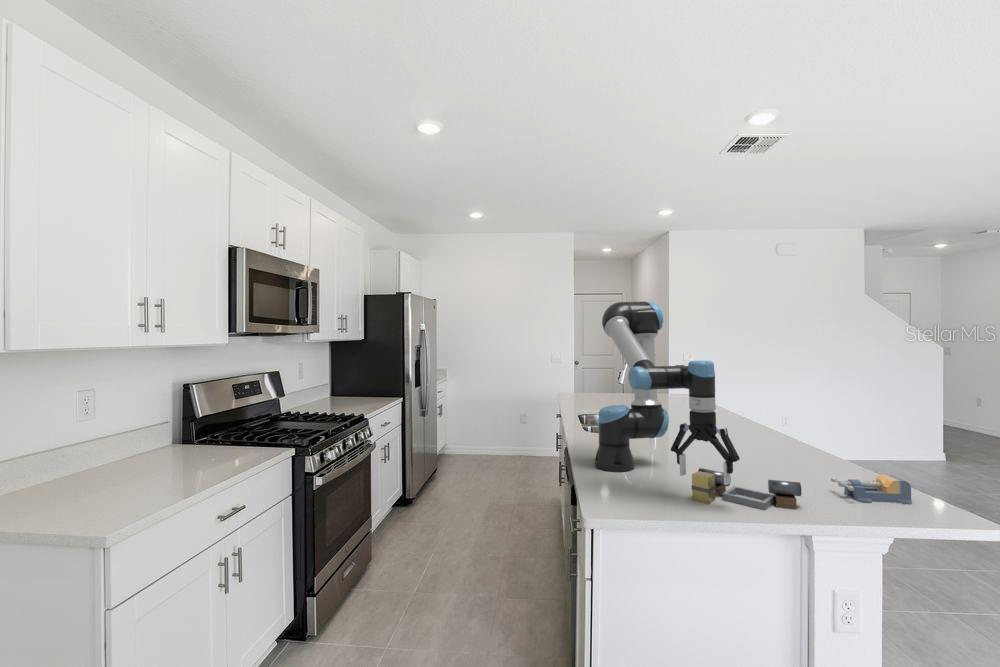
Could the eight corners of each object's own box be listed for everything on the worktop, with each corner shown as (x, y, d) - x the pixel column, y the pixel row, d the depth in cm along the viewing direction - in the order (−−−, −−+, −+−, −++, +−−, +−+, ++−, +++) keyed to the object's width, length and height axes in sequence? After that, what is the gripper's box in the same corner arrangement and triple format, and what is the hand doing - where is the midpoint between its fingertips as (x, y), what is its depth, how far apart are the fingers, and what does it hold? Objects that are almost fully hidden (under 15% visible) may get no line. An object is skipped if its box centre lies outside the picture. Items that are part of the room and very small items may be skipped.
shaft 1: (696, 491, 151) (696, 470, 151) (704, 487, 155) (703, 466, 155) (724, 498, 145) (724, 475, 145) (732, 493, 149) (731, 471, 149)
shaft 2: (771, 506, 137) (770, 482, 137) (767, 499, 143) (767, 476, 143) (802, 509, 134) (802, 485, 134) (797, 502, 140) (797, 479, 140)
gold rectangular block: (691, 500, 144) (691, 474, 144) (699, 496, 147) (698, 470, 147) (708, 504, 140) (708, 478, 140) (715, 500, 143) (715, 474, 143)
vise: (891, 493, 147) (891, 472, 147) (916, 505, 137) (916, 483, 137) (830, 491, 149) (829, 471, 149) (849, 503, 139) (849, 481, 139)
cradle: (722, 499, 143) (722, 493, 143) (734, 492, 150) (734, 486, 150) (765, 510, 135) (765, 503, 135) (775, 501, 141) (775, 495, 141)
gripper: (658, 408, 150) (660, 473, 150) (740, 416, 132) (742, 490, 131) (670, 405, 155) (671, 469, 155) (750, 412, 137) (752, 485, 137)
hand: (704, 479), depth 143 cm, fingers open, 13 cm apart
